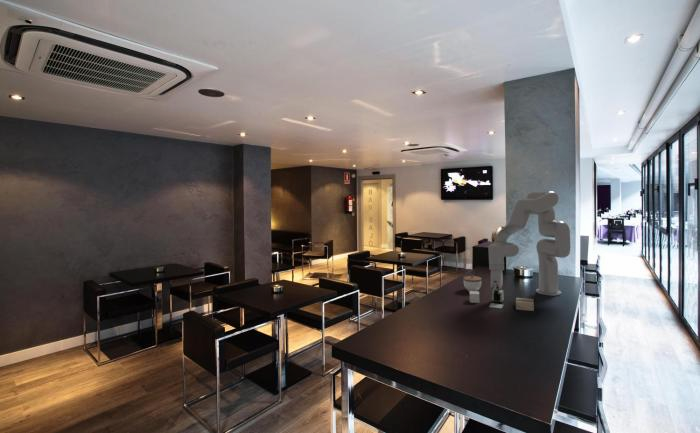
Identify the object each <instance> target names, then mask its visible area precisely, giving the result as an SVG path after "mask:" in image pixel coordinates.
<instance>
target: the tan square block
mask: <svg viewBox="0 0 700 433" xmlns="http://www.w3.org/2000/svg"><path fill="white" fill-rule="evenodd" d="M534 302H535V301H534V298H525V297H524V298H523V297H516V298H515V310H521V311H528V312H529V311H532V312H534V310H535V305H534V304H535V303H534Z"/></svg>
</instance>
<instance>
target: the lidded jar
mask: <svg viewBox="0 0 700 433" xmlns="http://www.w3.org/2000/svg"><path fill="white" fill-rule="evenodd" d="M462 279H463V285H464V288H465V289H466V290H467V291H468V292H470V291H478V292H479V290H480V289H481V287H482V277H481V276H477V275H476V276H475V275H469V276H468V275H466V276H463V278H462Z"/></svg>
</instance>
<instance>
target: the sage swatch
mask: <svg viewBox="0 0 700 433" xmlns="http://www.w3.org/2000/svg"><path fill="white" fill-rule="evenodd" d="M503 307H504V304H501V303H500V304H499V303H494V302H491V303H490V305H489V306H488V308H491V309H492V308H493V309H501V310H502V309H503Z"/></svg>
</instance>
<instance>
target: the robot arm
mask: <svg viewBox="0 0 700 433" xmlns="http://www.w3.org/2000/svg"><path fill="white" fill-rule="evenodd" d="M558 203H559V195H558V193H557V192H555V191H552V190H550V191H549V190H548V191H547V190H545V191H531V192H529V193H528V194H527V195H526V198H523V199H522V198H521V199H519V200H517V201H516V203H515V205H514V208H513V210H512V213H511V216H510V218H509V220H508V223H506V225H504V226H503V227H502V228H501V229H500V230H499V232H497V233H496V236H495V238H494V241H493V243H492V244H489V245H488V247H487V248H488V249H487V250H488V267H489V270H490V288H491V289H493V290H494V301H493V302H500V294H499V290H503V289H502V288H503V287H502V286H503V282H504V280H503V279H504V278H503V276H504V275H503V271H504V270H505V258H508V257H509V258H512V257H513V258H514V257H515V256H517V255H518V254H519V252H520V248H519V246H518V244H515V243H513V242H508V238H510V237H511V236H512V235H514V234H516V233H518V232H520V231H523V230H524V229H525V228H526V225H527V222H528V220H529V218H530V215H537V221H538V222H537V224H538V232H539V234H540V236H542V237H544V238H542V239H539V240H538V241H537V243H536V246H535V247H536V253H537V257H538V288H536V290H535V292H536V293H538V294H540V295H543V296H551V297H552V296H554V297H555V296H561V295H562V290H560V289H559V271H558V270H559V268H558V266H559V263H558V260H557V258H561V259H563V258H567V257H569V255H570V254H571V229H570V227H569V225H568V224H567V222H565V221H562V220H557V219H556V212H555V209H554V207H555V206H556V205H557V204H558ZM545 237H546V238H545ZM552 238H554V239H552Z"/></svg>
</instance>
